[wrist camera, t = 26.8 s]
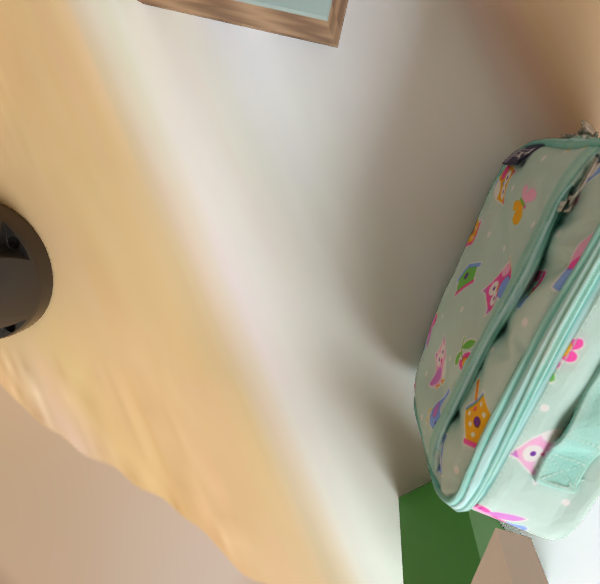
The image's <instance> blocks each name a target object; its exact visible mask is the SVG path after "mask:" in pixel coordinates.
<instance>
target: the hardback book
mask: <svg viewBox="0 0 600 584" xmlns="http://www.w3.org/2000/svg"><path fill="white" fill-rule="evenodd" d="M399 512H400V530H401V547H402V565H403V582H404V584H471V582H472V580H473V577H474V575H475V573H476V571H477V568H478V566H479V564H480V562H481V559H482V557H483V555H484V553H485V550H486V548H487V546H488V544H489V541H490V539H491V537H492V535H493V532H494V530H495V528H499V529H502V530H505V529H504V528H503V527H502V525H501V524H500V523H499V521H498V520H497V519H495V518H492V517H490V516H487V515H485V514H482V513H480V512H477V511H474V510H472V509H470V510H469V511H465V512H457V511H455V510H453V509H452V507H450V506H448V505H447V504H446V503H445V502H443V501H442V500H441V499H440V498H439V496H438V495H437V493H436V491H435V489H434V486H433V483H432V481H431V482H429V483H427V484H425V485H423V486H421V487H419V488H417V489H415V490H413V491H411V492H409V493H407V494H405V495H403V496H401V497H399Z"/></svg>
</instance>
